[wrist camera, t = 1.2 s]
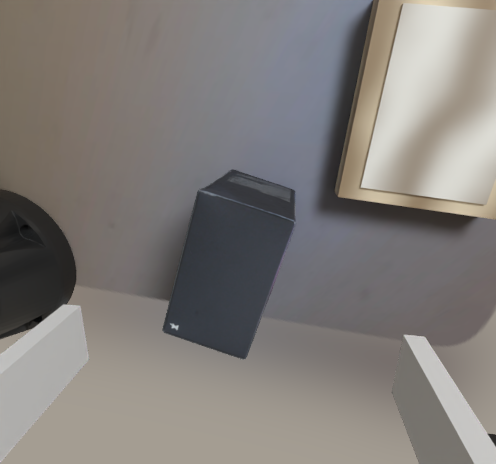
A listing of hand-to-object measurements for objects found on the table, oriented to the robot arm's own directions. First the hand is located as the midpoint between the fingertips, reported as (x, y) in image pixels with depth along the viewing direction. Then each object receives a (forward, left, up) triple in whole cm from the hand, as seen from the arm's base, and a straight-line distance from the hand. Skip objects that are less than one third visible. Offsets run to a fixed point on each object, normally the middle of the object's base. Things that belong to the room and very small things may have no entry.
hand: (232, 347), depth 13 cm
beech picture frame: (+11, +11, -17) cm, 23 cm away
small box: (-2, -1, -17) cm, 17 cm away
